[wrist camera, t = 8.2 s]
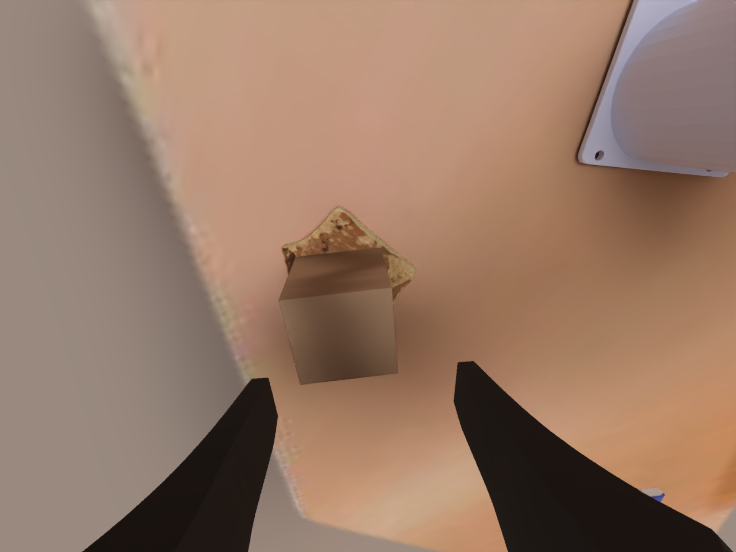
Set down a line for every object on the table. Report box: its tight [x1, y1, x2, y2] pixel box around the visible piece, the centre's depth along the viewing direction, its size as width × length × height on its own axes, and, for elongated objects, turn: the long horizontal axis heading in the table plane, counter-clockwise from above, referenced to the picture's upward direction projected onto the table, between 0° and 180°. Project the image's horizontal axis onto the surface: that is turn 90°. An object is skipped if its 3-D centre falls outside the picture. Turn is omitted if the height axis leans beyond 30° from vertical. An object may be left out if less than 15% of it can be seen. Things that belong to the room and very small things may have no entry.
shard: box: [282, 207, 416, 301], centre depth 20 cm, size 11×8×2 cm
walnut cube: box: [279, 248, 398, 385], centre depth 17 cm, size 5×5×5 cm
